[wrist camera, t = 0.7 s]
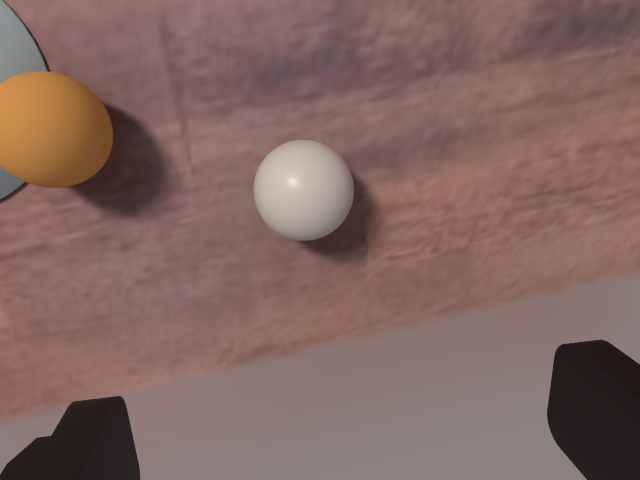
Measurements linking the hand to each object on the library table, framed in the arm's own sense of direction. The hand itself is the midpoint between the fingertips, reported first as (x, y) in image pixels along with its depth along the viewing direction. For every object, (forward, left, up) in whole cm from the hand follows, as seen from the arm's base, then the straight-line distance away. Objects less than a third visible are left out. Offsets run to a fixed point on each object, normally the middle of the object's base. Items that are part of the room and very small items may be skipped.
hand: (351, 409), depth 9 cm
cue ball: (-2, 0, -20) cm, 20 cm away
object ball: (+11, -7, -20) cm, 24 cm away
